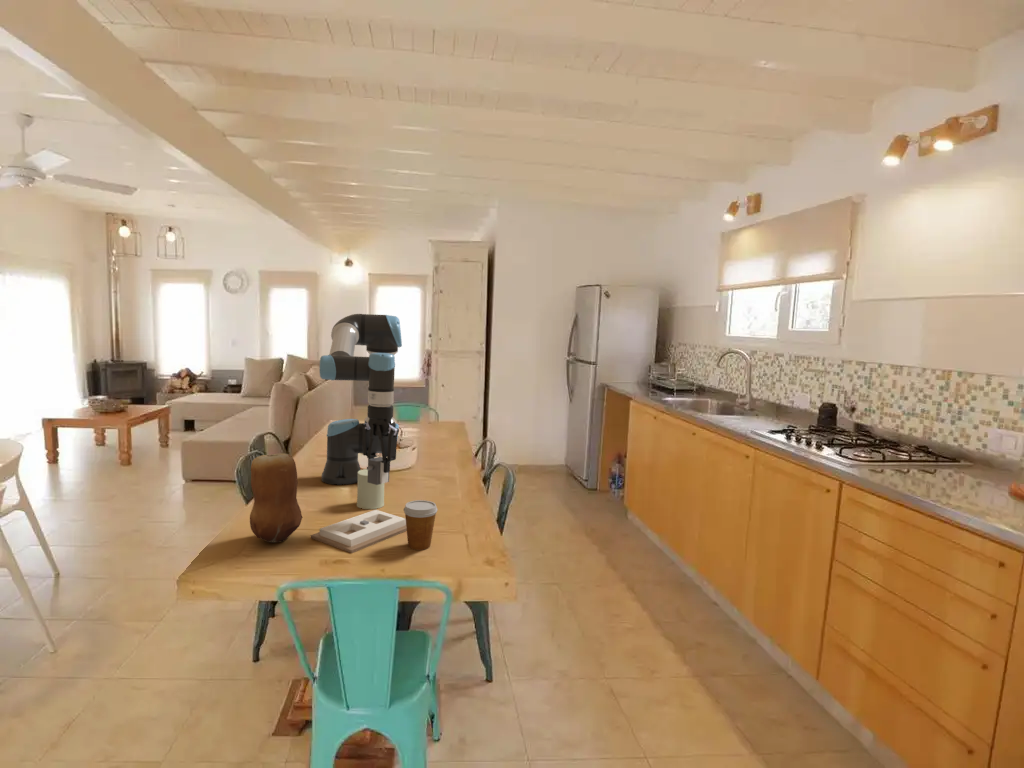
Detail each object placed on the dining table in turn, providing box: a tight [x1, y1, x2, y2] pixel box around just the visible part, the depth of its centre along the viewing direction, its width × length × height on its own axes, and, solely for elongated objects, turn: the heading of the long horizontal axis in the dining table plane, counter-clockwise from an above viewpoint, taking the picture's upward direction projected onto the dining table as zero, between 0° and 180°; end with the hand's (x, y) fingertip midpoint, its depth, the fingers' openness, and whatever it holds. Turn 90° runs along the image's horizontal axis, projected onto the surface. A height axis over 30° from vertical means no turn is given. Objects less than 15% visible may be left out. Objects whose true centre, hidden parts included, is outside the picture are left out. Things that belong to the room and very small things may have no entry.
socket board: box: [310, 509, 407, 554], centre depth 172 cm, size 17×25×3 cm
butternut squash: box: [249, 452, 303, 543], centre depth 161 cm, size 14×13×25 cm
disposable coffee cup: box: [403, 499, 438, 551], centre depth 164 cm, size 10×10×12 cm
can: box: [356, 468, 385, 510], centre depth 196 cm, size 9×9×12 cm
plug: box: [366, 456, 390, 485], centre depth 174 cm, size 4×7×7 cm, turn 147°
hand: (378, 480), depth 175 cm, fingers closed on plug, 4 cm apart
